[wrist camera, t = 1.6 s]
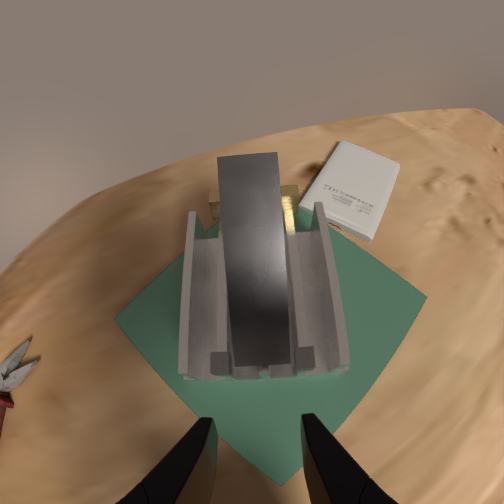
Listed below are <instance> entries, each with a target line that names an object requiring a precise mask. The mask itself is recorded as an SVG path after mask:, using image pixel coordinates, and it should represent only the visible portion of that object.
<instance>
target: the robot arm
mask: <svg viewBox="0 0 504 504" xmlns="http://www.w3.org/2000/svg"><path fill="white" fill-rule="evenodd" d="M300 433H301V445H302V457H303V468H304V474H305V479H306V483H307V488H308V492H309V496H310V501H311V504H398V503H397V502H396V501H395V500H393V499H392V498H391V497H390V496H388V495H387V494H386V493H385V492H384V491H383V490H382V489H381V488H380V487H379V486H378V485H377V484H376V483H375V482H374V481H373V480H372V479H371V478H369V475H368V474H367V473H366V472H365V471H364V470H363V469H362V468H361V467H360V466H359V464H358V463H357V462H356V461H355V460H354V459H353V458H352V457H351V455H350V454H349V453H348V452H347V451H346V450H345V449H344V448H343V446H342V445H341V444H340V443H339V442H338V441H337V439H336V438H335V437H334V436H333V435H332V434H331V432H330V431H329V430H328V429H327V428H326V427H325V425H324V424H323V423H322V422H321V421H320V419H319V418H318V417H317V416H316V415H315V414H314V413H305V414H302V415H301V427H300ZM217 441H218V434H217V429H216V426H215V422H214V419H213V418H212V417H201V418H199V420H198V421H197V422H196V423H195V424H194V425H193V426H192V427H191V429H190V430H189V431H188V432H187V433H186V434H185V435H184V436H183V437H182V439H181V440H180V441H179V442H178V443H177V444H176V445H175V446H174V447H173V448H172V449H171V451H170V452H169V453H168V454H167V455H166V456H165V457H164V458H163V459H162V460H161V461H160V462H159V463H158V464H157V465H156V466H155V467H154V468H153V469H152V470H151V471H150V472H149V474H148V475H147V476H146V477H145V478H144V479H143V480H142V482H139V483H138V484H137V485H136V486H135V487H134V488H133V489H132V490H131V491H130V492H129V493H128V494H127V495H126V496H125V497H123V498H122V499H121V500H120V501H118V502H117V503H116V504H210V500H211V495H212V490H213V485H214V480H215V473H216V458H217Z"/></svg>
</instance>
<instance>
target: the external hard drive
mask: <svg viewBox="0 0 504 504" xmlns="http://www.w3.org/2000/svg"><path fill="white" fill-rule="evenodd" d="M399 169H400V164H398V163H397V162H395V161H393V160H390V159H388V158H386V157H384V156H381V155H379V154H377V153H374V152H372V151H369V150H367V149H365V148H362V147H360V146H357V145H355V144H352V143H349V142H347V141H343V140H341V141H340V143H339V144H338V146H337V147H336V149H335V151H334V152H333V154H332V155H331V157H330V158H329V160H328V161H327V163H326V164H325V166H324V167H323V169H322V170H321V172H320V173H319V175H318V176H317V178H316V179H315V181H314V182H313V184H312V185H311V187H310V188H309V190H308V191H307V193H306V194H305V196H304V197H303V199H302V200H301V202H300V203H299V207H300V208H302V209H304V210H305V211H307V212H308V213H310V214H311V215H313V209H314V202H322V203H323V207H324V212H325V216H326V220H327V223H330V224H332V225H335V226H337V227H339V228H340V230H342V231H344V232H346V233H348V234H350V235H353V236H355V237H357V238H359V239H361V240H363V241H365V242H367V243H369V244H370V243H371V241H372V239H373V237H374V234H375V232H376V230H377V227H378V225H379V222H380V220H381V217H382V215H383V212H384V210H385V208H386V205H387V202H388V200H389V197H390V194H391V192H392V189H393V186H394V183H395V181H396V178H397V175H398V172H399Z"/></svg>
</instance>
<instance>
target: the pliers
mask: <svg viewBox="0 0 504 504" xmlns="http://www.w3.org/2000/svg"><path fill="white" fill-rule="evenodd" d="M29 343H30V340H29V339H28V340H27V341H26V342H25V343H24V344H22V345H21V346H20V347H19V348H18V349H17V350H16V351H15V352H14V353H13V354H11V355H10V356H9V357H8V358H7V359H6V360H5V361H4V362H3V364H2V365H1V367H0V436H1V431H2V425H3V420H4V415H5V411H6V407H8V408H13V406H14V403H13V402H12V401H11V400H10V399H9V396H10V395H9V393H8V392H10V391H11V390H13V389H15V388H16V387H17V386H19V385H20V384H21V383H22V382H23V380H24V379H25V378H26V377H27V375H28V374H29V373H30V372H31V371H32V369H33V368H34V367H35V366H36V365H37V363H38V362H39V361H38V360H36V361H34V362H32V363H30V364H27V365H25V366H23V367H21V368H19V369H17V368H18V366H19V364H20V362H21V360H22V358H23V356H24V354H25V351H26V349H27V347H28V345H29ZM16 369H17V370H16ZM12 370H15V371H13V372H12V373H11V371H12Z"/></svg>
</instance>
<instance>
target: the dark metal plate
mask: <svg viewBox="0 0 504 504" xmlns="http://www.w3.org/2000/svg"><path fill="white" fill-rule="evenodd" d="M217 163H218V179H219V195H220V209H221V222H222V236H223V248H224V260H225V272H226V283H227V294H228V305H229V315H230V325H231V335H232V344H233V354H234V363H235V367H244V366H265V365H280V364H291V361H290V334H289V311H288V292H287V274H286V258H285V242H284V228H283V215H282V202H281V190H280V178H279V167H278V156H277V152H272V153H257V154H245V155H234V156H224V157H217Z"/></svg>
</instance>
